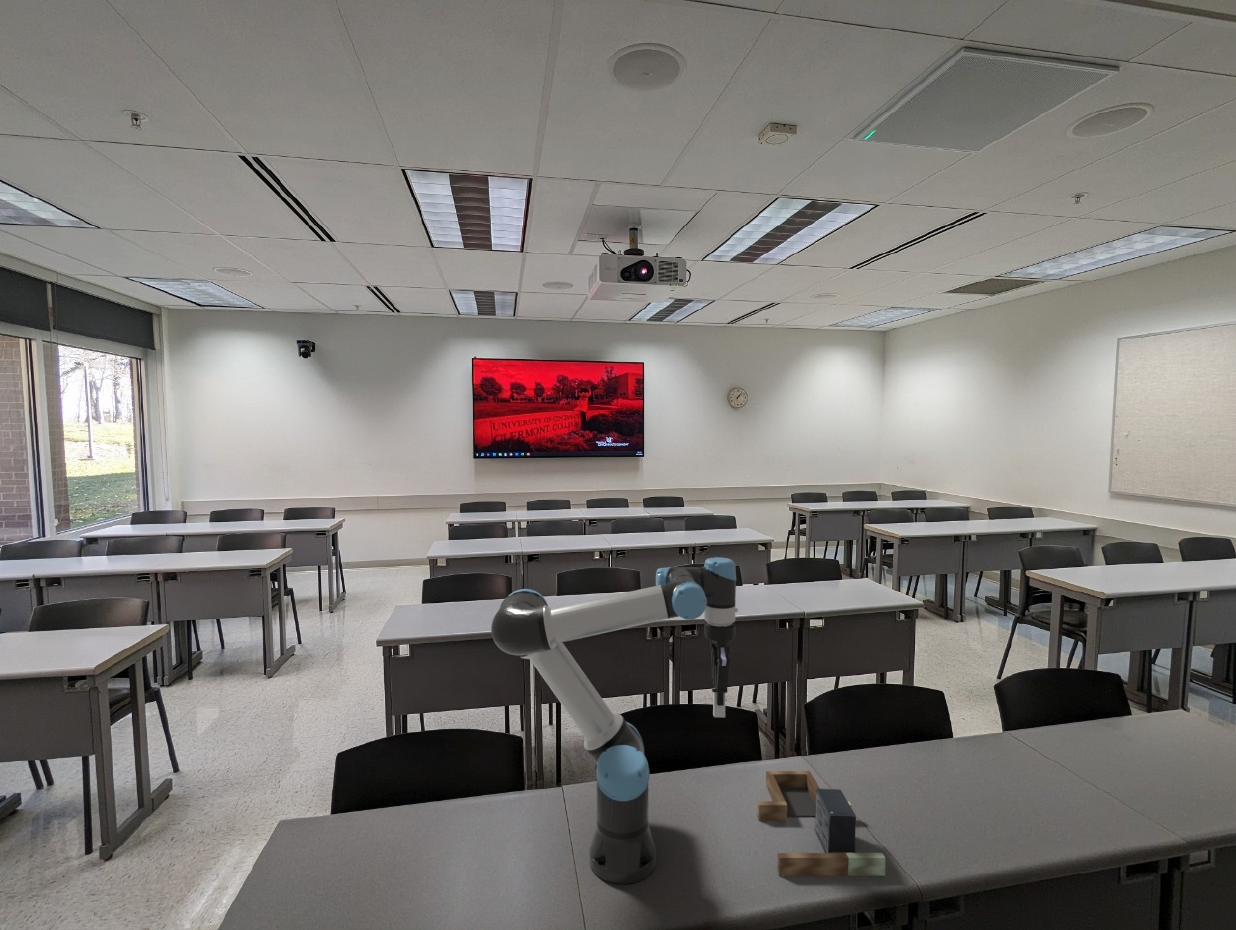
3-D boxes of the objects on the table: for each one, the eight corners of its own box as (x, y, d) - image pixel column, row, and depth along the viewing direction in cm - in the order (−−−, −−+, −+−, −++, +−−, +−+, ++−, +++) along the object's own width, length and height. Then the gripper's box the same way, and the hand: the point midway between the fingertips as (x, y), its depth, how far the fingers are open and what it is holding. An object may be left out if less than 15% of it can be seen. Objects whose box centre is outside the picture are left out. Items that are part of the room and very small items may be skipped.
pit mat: (785, 816, 149) (785, 815, 149) (772, 788, 161) (772, 787, 161) (821, 816, 149) (821, 815, 149) (805, 788, 161) (805, 787, 161)
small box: (857, 861, 134) (858, 815, 133) (827, 860, 134) (828, 815, 133) (840, 830, 144) (841, 788, 144) (813, 829, 144) (814, 787, 144)
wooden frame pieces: (779, 875, 129) (779, 857, 129) (745, 785, 162) (745, 771, 162) (885, 875, 129) (885, 857, 129) (829, 785, 163) (829, 771, 162)
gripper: (740, 630, 139) (739, 728, 140) (730, 613, 152) (729, 704, 153) (708, 630, 139) (708, 728, 140) (700, 613, 152) (700, 704, 153)
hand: (719, 715), depth 147 cm, fingers closed
